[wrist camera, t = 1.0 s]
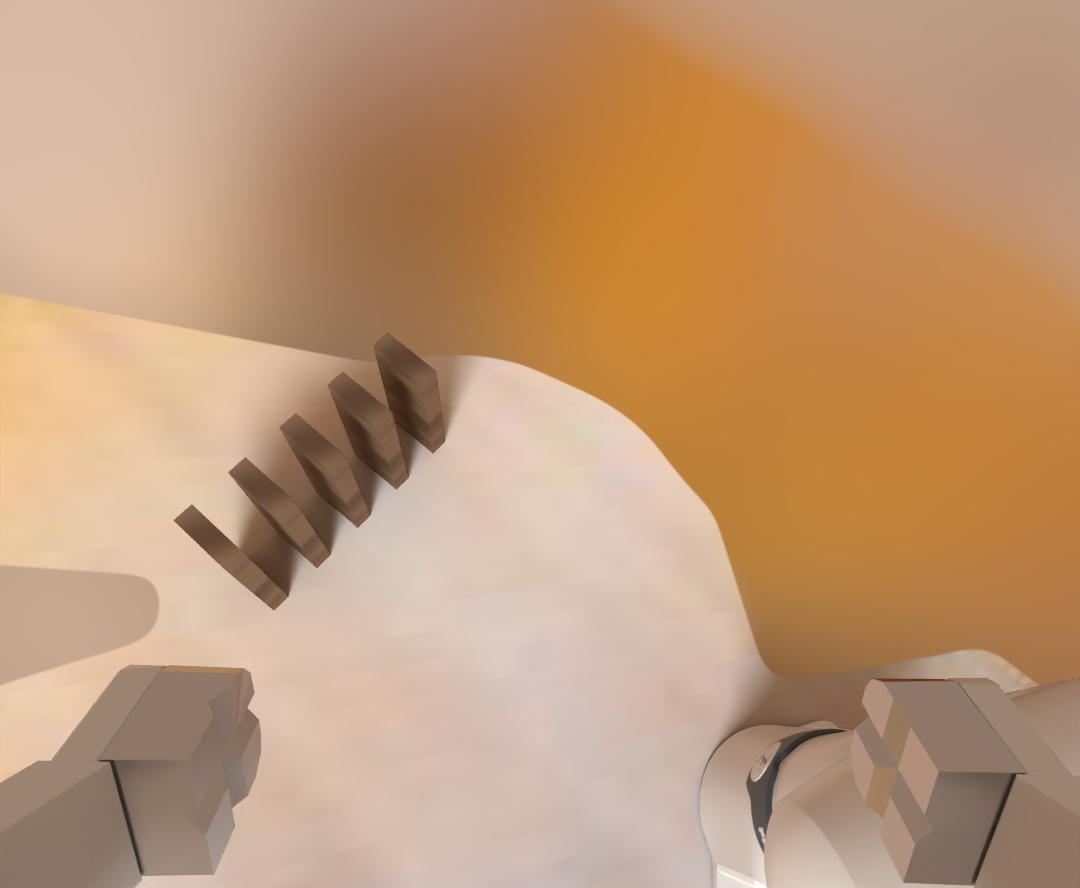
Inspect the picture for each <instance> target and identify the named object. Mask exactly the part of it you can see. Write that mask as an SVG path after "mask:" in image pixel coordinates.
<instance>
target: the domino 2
mask: <svg viewBox="0 0 1080 888" xmlns="http://www.w3.org/2000/svg"><path fill="white" fill-rule="evenodd" d="M228 473H229V474H230V475H231V476H232V478H233V479H234V480H235V481H236V482H237V484H238V485H239V486H240V487H241V489H242V490H243V491H244V492H245V493H246V495H247V496H248V497H249V498H250V500H251V501H252V502H253V503H254V504H255V506H256V507H257V508H258V509H259V511H260V512H261V513H262V514H263V515H264V517H265V518H266V519H267V520H268V522H269V523H270V524H271V525H272V526H273V528H274V529H275V530H276V531H277V532H278V533H279V534H280V535H282V536H283V537H284V538H285V539H286V540H287V541H288V542H289V543H290V544H291V545H292V546H294V547H295V548H296V549H297V550H298V551H299V552H300V553H301V554H302V555H303V556H304V557H305V558H307V559H308V560H309V561H310V562H311V563H312V564H313V565H314V566H315V567H316V568H318V567H319V566H320V565H321V564H322V563H323V562H324V561H325V560H326V559H327V558H328V557H329V556H330V553H329V552H328V550H327V549H326V547H325V546H324V544H323V543H322V541H321V540H320V538H319V537H318V535H317V534H316V532H315V531H314V529H313V528H312V526H311V525H310V523H309V522H308V520H307V519H306V517H305V516H304V514H303V513H302V511H301V510H300V508H299V507H298V505H297V504H296V502H295V501H293V500H292V499H291V498H290V497H289V496H288V495H287V494H286V493H285V492H283V491H282V490H281V489H280V488H279V487H278V486H277V485H276V484H275V483H273V482H272V481H271V480H270V479H269V478H268V477H267V476H266V475H265V474H263V473H262V472H261V471H260V470H259V469H258V468H257V467H256V466H255V465H253V464H252V463H251V462H250V461H249V460H248V459H247V458H246V457H245V458H244V459H243V460H242V461H241V462H240V463H238V464H237V465H236V466H235V467H234V468H233V469H232V470H230V471H229V472H228Z"/></svg>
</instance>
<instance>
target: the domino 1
mask: <svg viewBox="0 0 1080 888" xmlns="http://www.w3.org/2000/svg"><path fill="white" fill-rule="evenodd" d="M174 521H175V522H176V523H177V524H178V525H179V526H180V527H181V528H182V529H183V530H184V531H185V532H186V533H187V534H188V535H189V536H190V537H191V538H192V539H193V540H195V541H196V542H197V543H198V544H199V545H200V546H201V547H202V548H203V549H204V550H205V551H206V552H207V553H208V554H209V555H210V556H211V557H212V558H213V559H214V560H215V561H216V562H218V563H219V564H220V565H221V566H222V567H223V568H224V569H225V570H226V571H227V572H229V573H230V574H231V575H232V576H233V577H235V578H236V579H237V580H238V581H239V582H240V583H242V584H243V585H244V586H245V587H246V588H248V589H249V590H250V591H251V592H252V593H254V594H255V595H256V596H257V597H258V598H260V599H261V600H262V601H263V602H264V603H266V604H267V605H268V606H269V607H270V608H272V609H273V610H275V609H276V608H277V607H278V606H279V605H280V604H281V603H282V602H283V601H284V600H285V599H286V598H287V597H288V596H287V595H286V594H285V593H284V592H283V591H282V590H281V589H280V588H279V587H278V586H277V585H276V584H275V583H274V582H273V581H272V580H271V579H270V578H269V577H268V576H267V575H266V574H265V573H264V572H263V571H262V570H261V569H260V568H259V567H257V566H256V565H255V564H254V563H253V562H252V561H251V560H250V559H249V558H248V557H247V556H246V555H245V554H244V553H243V552H242V551H241V550H240V549H239V548H238V547H237V546H236V545H235V544H233V543H232V542H231V541H230V540H229V539H228V538H227V537H226V536H225V535H224V534H223V533H222V532H221V531H220V530H219V529H217V528H216V527H215V526H214V525H213V524H212V523H211V522H210V521H209V520H208V519H207V518H206V517H205V516H204V515H203V514H202V513H200V512H199V511H198V510H197V509H196V508H195V507H194V506H193V505H191V506H189V507H188V508H187V509H186V510H185V511H184V512H183V513H181V514H180V515H179V516H178V517H177V518H176V519H175V520H174Z"/></svg>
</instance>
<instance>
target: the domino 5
mask: <svg viewBox="0 0 1080 888" xmlns="http://www.w3.org/2000/svg"><path fill="white" fill-rule="evenodd" d="M373 346H374V350H375V354H376V358H377V362H378V366H379V370H380V374H381V377H382V381H383V385H384V389H385V393H386V397H387V401H388V405H389V408H390V411H391V412H392V414H393V418H394V421H395V422H396V423H397V424H398V425H400V426H401V427H402V428H403V429H404V430H406V431H407V432H408V433H409V434H410V435H412V436H413V437H414V438H415V439H416V440H418V441H419V442H420V443H421V444H422V445H424V446H425V447H426V448H427V449H428V450H430V451H431V452H432V453H434V452H435V451H436V450H437V449H438V448H439V447H440V446H441V445H442V444H443V443H444V442H445V440H444V432H443V424H442V415H441V407H440V399H439V391H438V383H437V375H436V371H435V370H434V369H433V368H431V367H430V366H429V365H428V364H426V363H425V362H424V361H423V360H421V359H420V358H419V357H417V356H416V355H415V354H414V353H412V352H411V351H410V350H409V349H407V348H406V347H405V346H404V345H402V344H401V343H400V342H398V341H397V340H396V339H395V338H394V337H392V336H391V335H390V334H389V333H387V334H386V335H384V336H383V337H382V338H381V339H380V340H379V341H377V342H376V343H375V344H374V345H373Z"/></svg>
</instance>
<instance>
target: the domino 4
mask: <svg viewBox="0 0 1080 888" xmlns="http://www.w3.org/2000/svg"><path fill="white" fill-rule="evenodd" d="M328 387H329V390H330V392H331V395H332V397H333V400H334V402H335V405H336V407H337V410H338V412H339V415H340V417H341V420H342V422H343V425H344V427H345V430H346V432H347V435H348V437H349V440H350V442H351V445H352V448H353V450H354V453H355V455H356V456H358V457H359V458H360V459H361V460H362V461H363V462H365V463H366V464H367V465H368V466H369V467H371V468H372V469H373V470H374V471H375V472H376V473H378V474H379V475H380V476H381V477H382V478H383V479H385V480H386V481H387V482H388V483H389V484H390V485H392V486H393V487H394V488H395V489H396V490H397V489H398V488H399V487H400V486H401V485H402V484H403V483H404V482H405V481H406V480H407V479H408V478H409V477H408V473H407V469H406V465H405V461H404V457H403V454H402V450H401V446H400V442H399V438H398V434H397V430H396V426H395V422H394V418H393V414H392V412H391V411H390V410H389V409H387V408H386V407H385V406H384V405H382V404H381V403H380V402H379V401H378V400H376V399H375V398H374V397H373V396H372V395H370V394H369V393H368V392H367V391H366V390H364V389H363V388H362V387H361V386H359V385H358V384H357V383H356V382H355V381H353V380H352V379H351V378H350V377H349V376H347V375H346V374H345V373H344V372H342V373H341V374H340V375H339V376H338V377H336V378H335V379H334V380H333V381H332V382H331V383H330V384H328Z"/></svg>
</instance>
